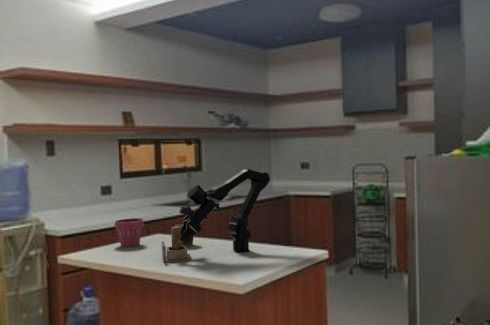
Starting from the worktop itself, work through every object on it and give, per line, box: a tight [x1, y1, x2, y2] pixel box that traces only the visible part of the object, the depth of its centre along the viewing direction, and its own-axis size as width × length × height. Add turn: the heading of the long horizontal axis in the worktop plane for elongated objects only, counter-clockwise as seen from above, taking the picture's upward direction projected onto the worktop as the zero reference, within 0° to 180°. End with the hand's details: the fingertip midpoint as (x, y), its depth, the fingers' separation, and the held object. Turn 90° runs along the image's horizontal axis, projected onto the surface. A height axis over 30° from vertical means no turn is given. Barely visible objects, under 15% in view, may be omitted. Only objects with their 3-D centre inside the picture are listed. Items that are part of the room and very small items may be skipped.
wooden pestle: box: [170, 226, 181, 250], centre depth 208 cm, size 4×4×13 cm
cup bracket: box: [161, 240, 193, 264], centre depth 208 cm, size 12×12×7 cm
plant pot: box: [114, 217, 145, 248], centre depth 243 cm, size 14×14×13 cm
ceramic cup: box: [174, 223, 195, 247], centre depth 238 cm, size 13×10×10 cm
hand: (179, 238), depth 208 cm, fingers open, 9 cm apart
